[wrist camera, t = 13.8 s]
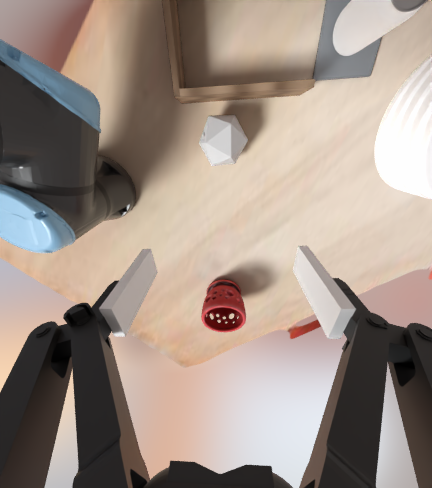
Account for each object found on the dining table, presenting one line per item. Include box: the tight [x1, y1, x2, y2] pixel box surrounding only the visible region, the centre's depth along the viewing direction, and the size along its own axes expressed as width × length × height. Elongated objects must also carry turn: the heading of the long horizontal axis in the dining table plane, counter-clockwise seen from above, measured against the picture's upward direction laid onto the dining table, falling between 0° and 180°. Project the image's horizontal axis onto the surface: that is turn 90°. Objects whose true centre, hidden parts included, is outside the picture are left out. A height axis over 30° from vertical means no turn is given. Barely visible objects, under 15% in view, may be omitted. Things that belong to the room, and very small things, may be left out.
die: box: [199, 115, 248, 166], centre depth 35 cm, size 8×9×10 cm
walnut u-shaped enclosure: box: [162, 0, 315, 103], centre depth 28 cm, size 23×16×6 cm
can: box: [333, 0, 428, 56], centre depth 24 cm, size 6×6×12 cm
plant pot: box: [202, 280, 246, 332], centre depth 57 cm, size 13×13×12 cm
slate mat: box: [313, 0, 382, 81], centre depth 30 cm, size 10×12×1 cm
